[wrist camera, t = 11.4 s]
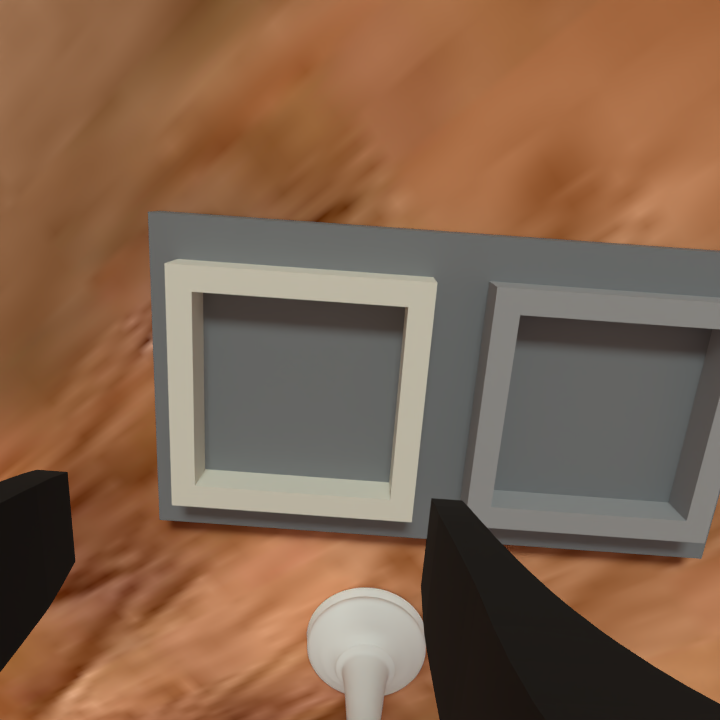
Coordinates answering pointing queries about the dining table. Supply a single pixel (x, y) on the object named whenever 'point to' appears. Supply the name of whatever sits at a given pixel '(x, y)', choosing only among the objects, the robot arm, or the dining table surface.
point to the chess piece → (366, 647)
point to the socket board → (435, 382)
